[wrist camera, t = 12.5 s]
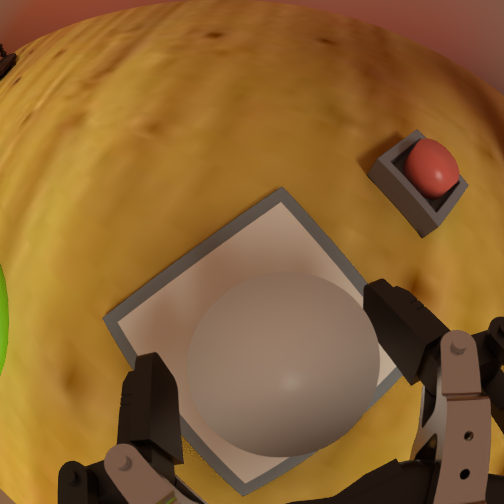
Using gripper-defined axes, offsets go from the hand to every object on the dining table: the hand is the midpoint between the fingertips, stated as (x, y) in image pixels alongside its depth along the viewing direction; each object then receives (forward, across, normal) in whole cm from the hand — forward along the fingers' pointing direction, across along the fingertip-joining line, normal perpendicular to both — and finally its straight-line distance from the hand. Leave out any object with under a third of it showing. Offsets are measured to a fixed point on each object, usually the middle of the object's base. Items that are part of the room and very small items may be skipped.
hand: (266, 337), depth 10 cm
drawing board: (+5, 0, +6) cm, 8 cm away
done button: (+9, -17, -1) cm, 19 cm away
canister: (+4, 0, +5) cm, 7 cm away
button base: (+11, -17, +1) cm, 20 cm away
